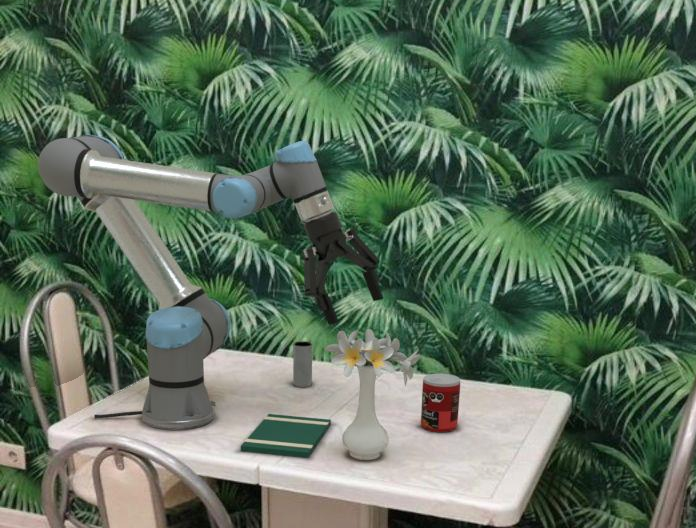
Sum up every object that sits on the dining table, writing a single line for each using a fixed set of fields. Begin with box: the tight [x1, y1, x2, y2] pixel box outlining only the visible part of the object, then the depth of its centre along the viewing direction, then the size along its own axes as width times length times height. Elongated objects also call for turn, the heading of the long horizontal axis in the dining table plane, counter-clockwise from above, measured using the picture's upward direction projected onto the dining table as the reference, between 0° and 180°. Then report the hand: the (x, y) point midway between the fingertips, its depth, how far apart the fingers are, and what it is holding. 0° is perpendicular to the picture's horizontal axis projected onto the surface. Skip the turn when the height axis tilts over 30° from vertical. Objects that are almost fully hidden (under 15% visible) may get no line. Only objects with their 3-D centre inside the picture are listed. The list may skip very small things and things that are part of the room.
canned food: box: [420, 373, 461, 433], centre depth 206 cm, size 8×8×11 cm
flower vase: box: [324, 328, 421, 461], centre depth 187 cm, size 13×18×25 cm
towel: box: [240, 413, 332, 459], centre depth 199 cm, size 14×20×1 cm
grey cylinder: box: [292, 341, 313, 388], centre depth 231 cm, size 4×4×10 cm
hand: (356, 311), depth 205 cm, fingers open, 13 cm apart
